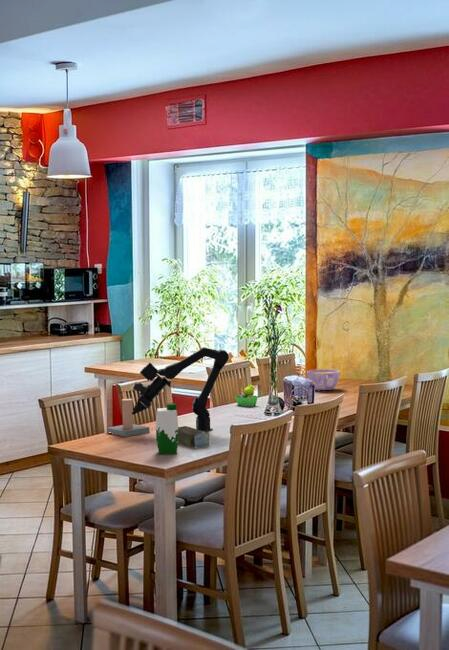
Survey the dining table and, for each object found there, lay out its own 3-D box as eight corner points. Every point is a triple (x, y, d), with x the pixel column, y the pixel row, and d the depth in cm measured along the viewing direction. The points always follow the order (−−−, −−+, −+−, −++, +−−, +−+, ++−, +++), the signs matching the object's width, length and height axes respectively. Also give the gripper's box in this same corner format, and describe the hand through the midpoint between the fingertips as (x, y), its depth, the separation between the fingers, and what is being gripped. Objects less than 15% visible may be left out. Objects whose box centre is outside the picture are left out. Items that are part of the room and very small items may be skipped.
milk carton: (178, 454, 360) (177, 405, 359) (156, 455, 359) (155, 406, 358) (178, 449, 369) (177, 402, 368) (156, 450, 368) (155, 403, 367)
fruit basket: (234, 405, 482) (233, 384, 481) (245, 403, 488) (245, 383, 487) (248, 407, 474) (248, 386, 473) (260, 405, 480) (260, 384, 479)
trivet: (149, 432, 408) (149, 427, 408) (125, 436, 399) (124, 431, 399) (131, 428, 419) (131, 423, 418) (106, 433, 409) (106, 427, 409)
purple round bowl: (335, 393, 518) (335, 373, 518) (302, 392, 526) (302, 372, 525) (343, 388, 537) (343, 369, 536) (311, 387, 544) (311, 368, 543)
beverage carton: (194, 449, 371) (193, 433, 371) (170, 442, 387) (169, 427, 386) (210, 446, 376) (209, 431, 375) (185, 439, 391) (185, 424, 391)
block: (133, 426, 411) (132, 398, 410) (132, 428, 406) (132, 400, 406) (123, 426, 411) (122, 398, 410) (122, 428, 406) (122, 400, 405)
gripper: (143, 373, 417) (120, 397, 417) (142, 378, 398) (118, 403, 398) (160, 389, 418) (138, 413, 418) (160, 395, 399) (137, 420, 399)
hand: (132, 412), depth 408 cm, fingers open, 9 cm apart
